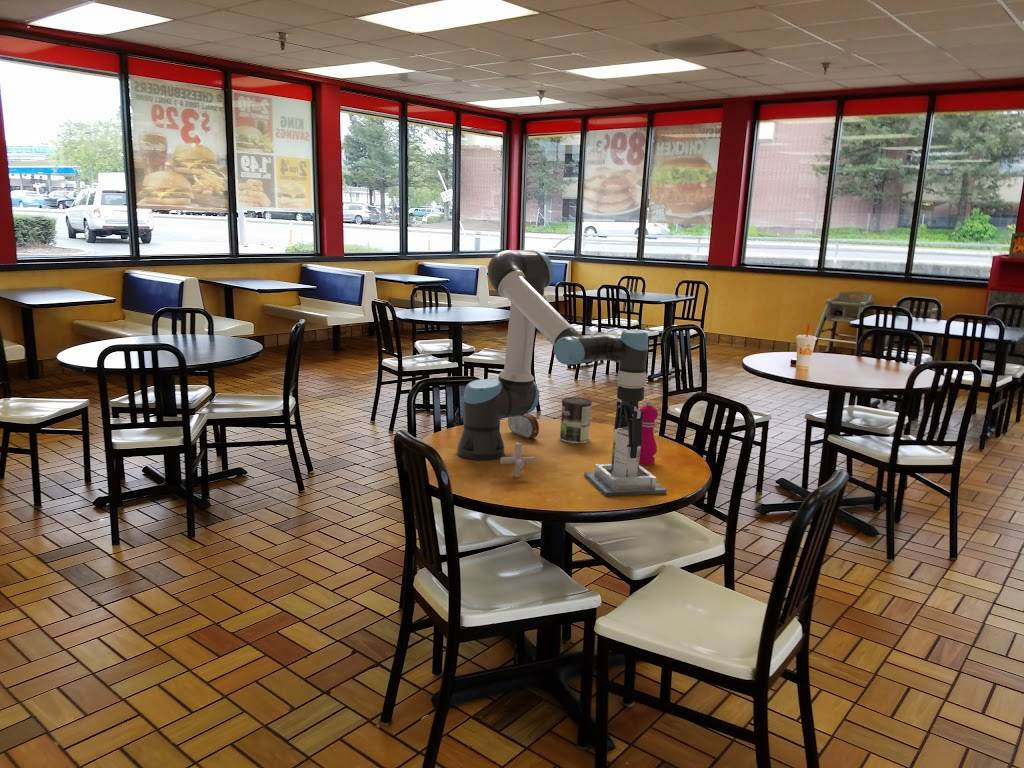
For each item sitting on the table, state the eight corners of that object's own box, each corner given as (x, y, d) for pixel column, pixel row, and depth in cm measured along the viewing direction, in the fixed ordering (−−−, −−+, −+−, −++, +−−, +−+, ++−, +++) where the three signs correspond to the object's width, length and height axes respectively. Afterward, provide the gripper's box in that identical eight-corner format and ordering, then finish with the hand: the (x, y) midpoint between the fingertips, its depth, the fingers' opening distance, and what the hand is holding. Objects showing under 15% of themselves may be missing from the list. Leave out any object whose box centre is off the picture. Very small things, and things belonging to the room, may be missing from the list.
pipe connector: (503, 482, 214) (504, 448, 212) (497, 471, 224) (498, 439, 222) (537, 481, 216) (539, 448, 214) (530, 470, 226) (531, 438, 224)
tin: (539, 440, 260) (540, 416, 259) (532, 441, 258) (533, 417, 257) (513, 430, 272) (514, 407, 270) (506, 431, 270) (507, 408, 268)
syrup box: (622, 473, 220) (626, 425, 218) (638, 478, 216) (642, 429, 213) (610, 477, 217) (613, 428, 214) (626, 482, 212) (629, 432, 210)
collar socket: (605, 496, 206) (606, 482, 205) (584, 476, 223) (585, 462, 222) (666, 493, 210) (667, 479, 210) (640, 473, 227) (641, 460, 227)
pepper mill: (644, 467, 234) (649, 404, 231) (628, 460, 240) (632, 399, 236) (660, 463, 239) (665, 402, 235) (644, 457, 244) (648, 397, 240)
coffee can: (566, 444, 256) (568, 404, 254) (555, 436, 266) (557, 397, 263) (594, 443, 259) (596, 403, 257) (582, 435, 269) (584, 396, 266)
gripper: (658, 393, 202) (652, 474, 207) (629, 378, 222) (624, 453, 226) (632, 393, 201) (626, 475, 205) (605, 378, 220) (600, 454, 224)
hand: (625, 463), depth 216 cm, fingers open, 7 cm apart
